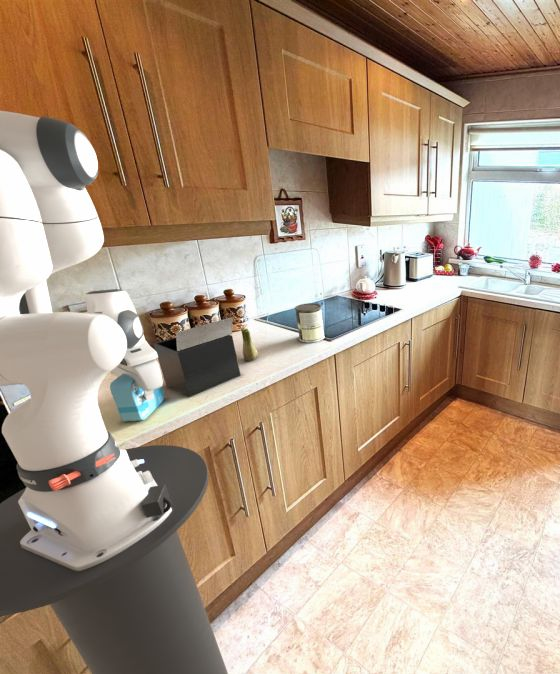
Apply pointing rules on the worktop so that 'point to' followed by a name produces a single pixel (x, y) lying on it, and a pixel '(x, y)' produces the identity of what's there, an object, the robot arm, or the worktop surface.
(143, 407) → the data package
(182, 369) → the black box
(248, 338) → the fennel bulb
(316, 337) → the coffee can
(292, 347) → the worktop surface
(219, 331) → the flap
